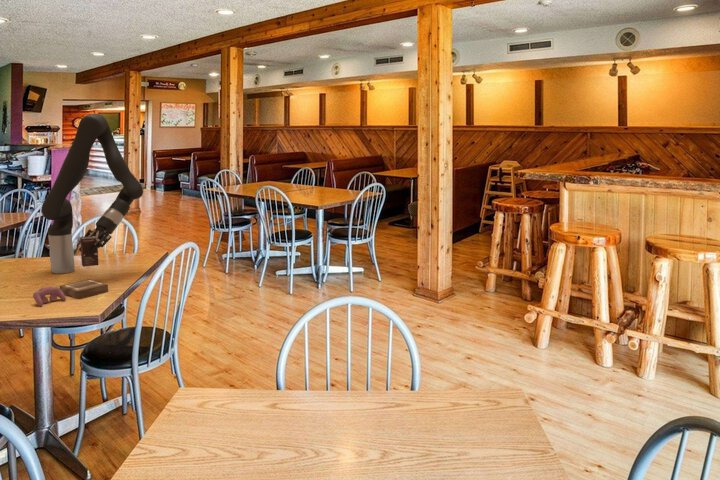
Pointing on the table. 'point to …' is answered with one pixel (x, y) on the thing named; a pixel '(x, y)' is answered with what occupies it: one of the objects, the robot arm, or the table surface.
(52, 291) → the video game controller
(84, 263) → the box
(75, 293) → the base board
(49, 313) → the table surface
